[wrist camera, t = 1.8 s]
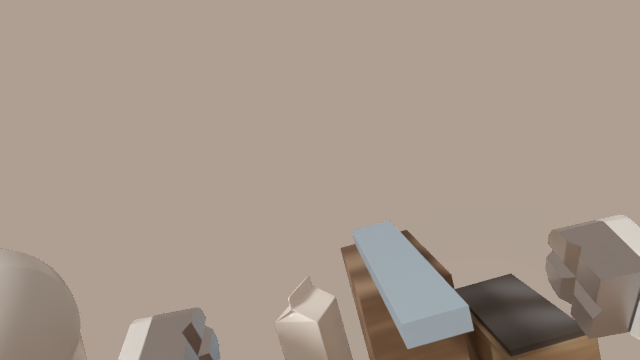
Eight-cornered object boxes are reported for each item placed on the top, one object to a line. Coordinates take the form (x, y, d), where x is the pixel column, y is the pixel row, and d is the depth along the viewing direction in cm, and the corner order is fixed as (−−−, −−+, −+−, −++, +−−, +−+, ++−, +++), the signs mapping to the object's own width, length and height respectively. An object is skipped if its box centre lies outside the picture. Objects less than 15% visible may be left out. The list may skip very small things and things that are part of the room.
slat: (474, 330, 28) (468, 305, 28) (407, 349, 28) (401, 324, 28) (393, 235, 50) (389, 220, 50) (355, 245, 50) (351, 230, 49)
